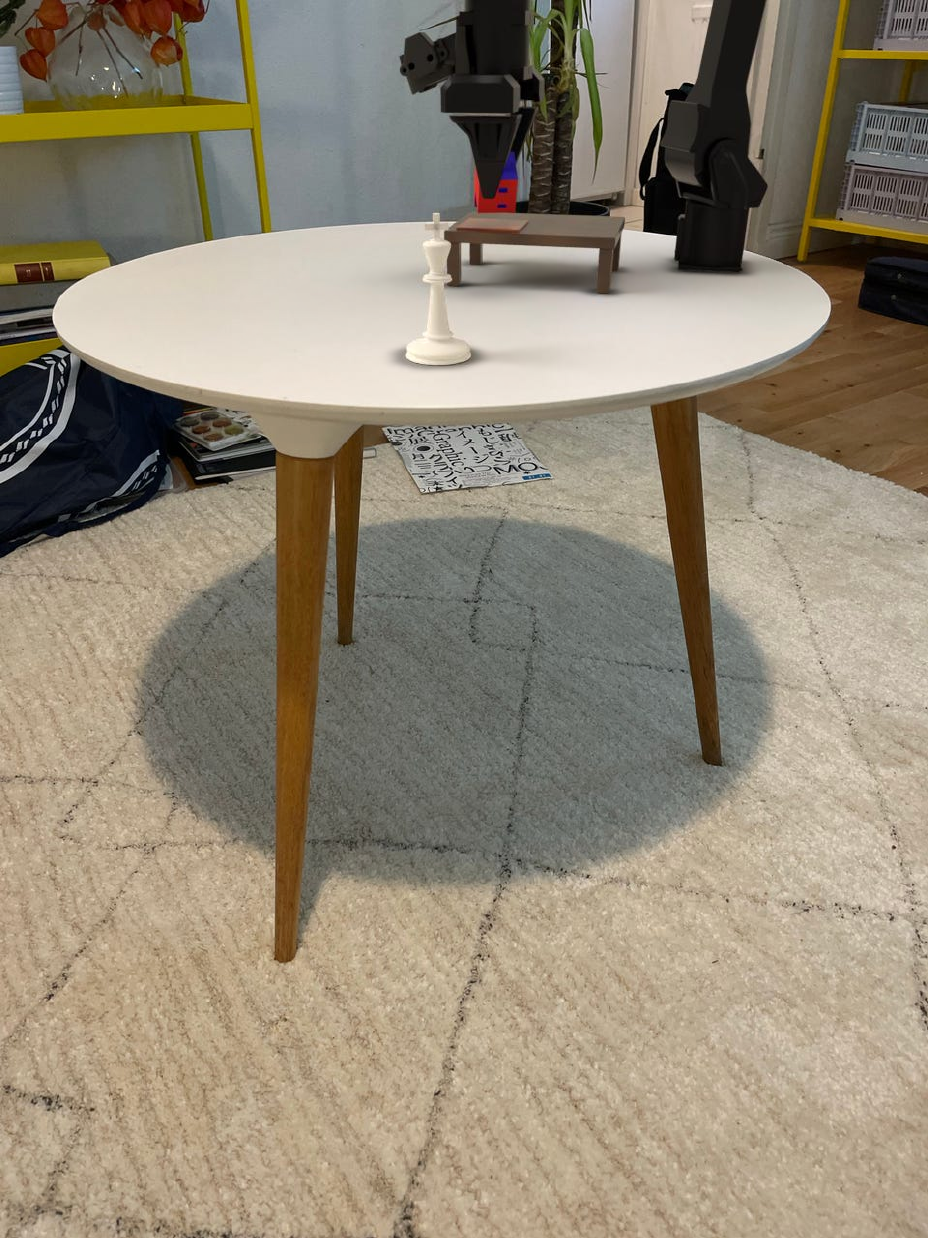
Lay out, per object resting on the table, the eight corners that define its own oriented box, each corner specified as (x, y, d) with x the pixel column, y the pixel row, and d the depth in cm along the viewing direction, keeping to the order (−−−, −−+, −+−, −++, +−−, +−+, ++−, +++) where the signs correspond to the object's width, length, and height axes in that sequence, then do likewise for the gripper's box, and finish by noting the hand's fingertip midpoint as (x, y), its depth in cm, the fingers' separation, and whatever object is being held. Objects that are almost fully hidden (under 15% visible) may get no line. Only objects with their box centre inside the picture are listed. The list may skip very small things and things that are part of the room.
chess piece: (404, 347, 74) (400, 208, 69) (467, 345, 75) (468, 207, 69) (406, 366, 70) (402, 219, 65) (473, 364, 70) (474, 218, 65)
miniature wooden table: (620, 268, 100) (625, 214, 97) (611, 294, 90) (615, 235, 87) (470, 261, 102) (470, 209, 100) (444, 286, 92) (443, 228, 90)
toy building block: (477, 228, 92) (480, 150, 85) (473, 201, 94) (477, 123, 88) (513, 228, 92) (520, 150, 86) (509, 200, 95) (516, 122, 88)
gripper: (433, 1, 92) (436, 179, 100) (376, -5, 77) (385, 206, 85) (548, 0, 90) (541, 181, 98) (514, -7, 75) (510, 209, 83)
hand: (495, 193), depth 91 cm, fingers closed on toy building block, 6 cm apart
